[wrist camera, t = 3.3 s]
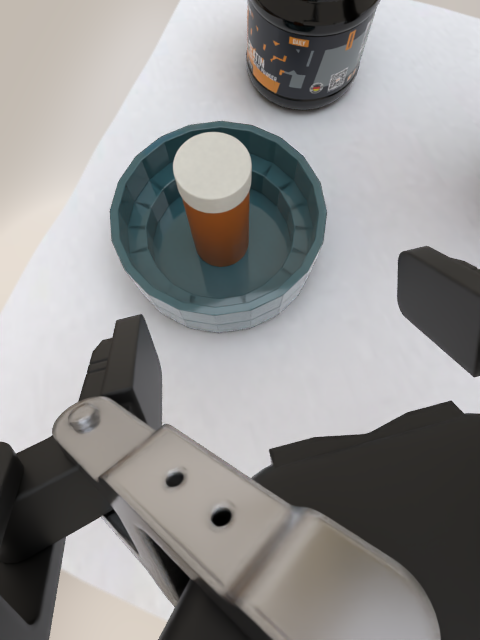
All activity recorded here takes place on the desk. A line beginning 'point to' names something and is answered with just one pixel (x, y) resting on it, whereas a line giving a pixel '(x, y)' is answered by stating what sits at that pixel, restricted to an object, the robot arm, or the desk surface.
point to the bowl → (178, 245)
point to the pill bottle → (215, 195)
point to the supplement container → (306, 48)
